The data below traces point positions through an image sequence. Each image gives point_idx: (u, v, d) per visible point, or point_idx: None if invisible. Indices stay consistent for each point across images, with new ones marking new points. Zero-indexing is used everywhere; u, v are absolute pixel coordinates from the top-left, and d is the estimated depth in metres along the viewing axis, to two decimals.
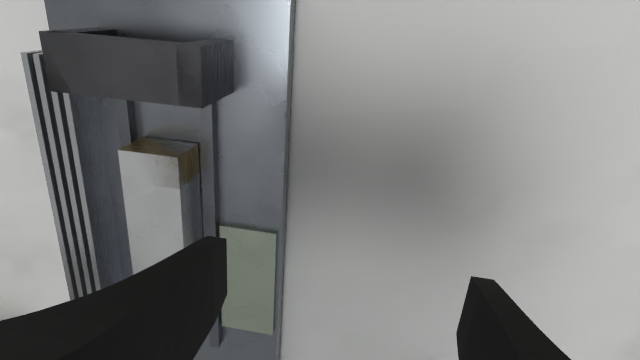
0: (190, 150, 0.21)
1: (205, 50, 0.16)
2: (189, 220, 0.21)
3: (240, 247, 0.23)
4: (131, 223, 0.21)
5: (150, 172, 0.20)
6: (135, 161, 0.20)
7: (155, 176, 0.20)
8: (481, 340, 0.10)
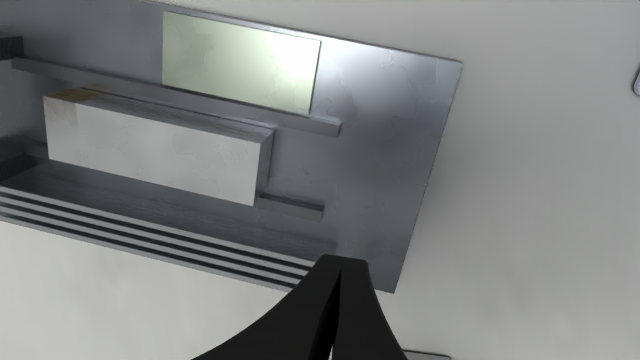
0: (65, 91, 0.20)
1: None
2: (131, 109, 0.19)
3: (187, 62, 0.19)
4: (126, 171, 0.19)
5: (64, 131, 0.19)
6: (56, 143, 0.19)
7: (67, 126, 0.19)
8: (337, 315, 0.10)
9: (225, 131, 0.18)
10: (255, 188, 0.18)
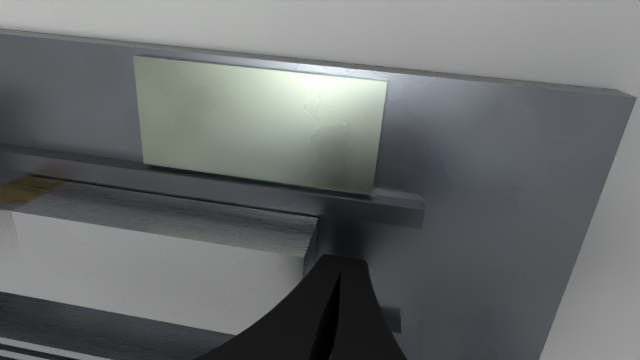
0: (3, 185, 0.13)
1: None
2: (98, 209, 0.12)
3: (177, 130, 0.12)
4: (100, 303, 0.13)
5: (2, 250, 0.12)
6: None
7: (4, 244, 0.12)
8: (336, 315, 0.10)
9: (243, 235, 0.12)
10: None
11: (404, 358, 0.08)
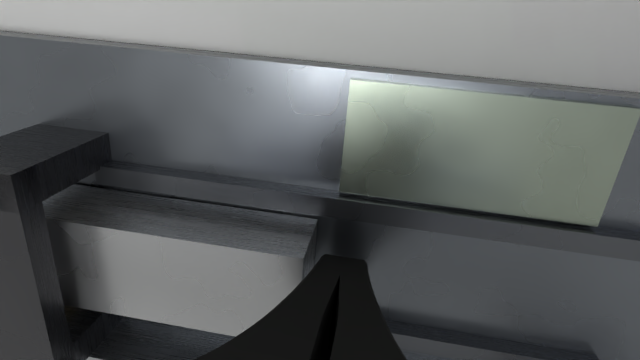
0: None
1: None
2: (97, 210, 0.12)
3: (385, 157, 0.11)
4: (99, 304, 0.13)
5: None
6: None
7: None
8: (335, 315, 0.10)
9: (243, 236, 0.11)
10: None
11: (403, 358, 0.08)
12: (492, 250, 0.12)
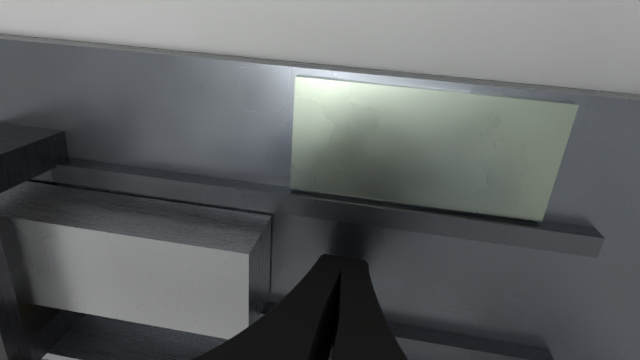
0: None
1: None
2: (51, 208, 0.12)
3: (333, 154, 0.12)
4: (54, 301, 0.13)
5: None
6: None
7: None
8: (337, 315, 0.10)
9: (193, 232, 0.12)
10: (249, 317, 0.12)
11: (405, 358, 0.08)
12: (443, 245, 0.12)
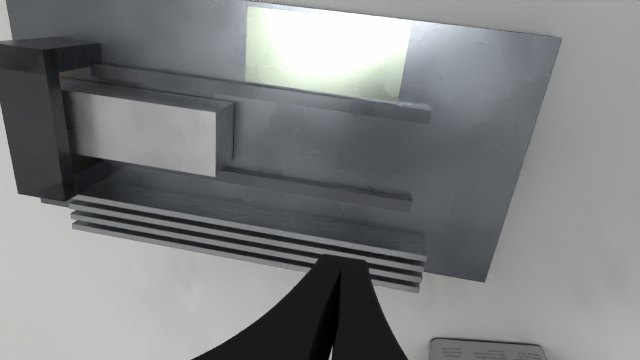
0: None
1: (2, 41, 0.17)
2: (91, 89, 0.19)
3: (271, 57, 0.19)
4: (91, 151, 0.20)
5: None
6: None
7: None
8: (337, 315, 0.10)
9: (182, 103, 0.19)
10: (216, 158, 0.19)
11: (405, 358, 0.08)
12: (341, 122, 0.19)
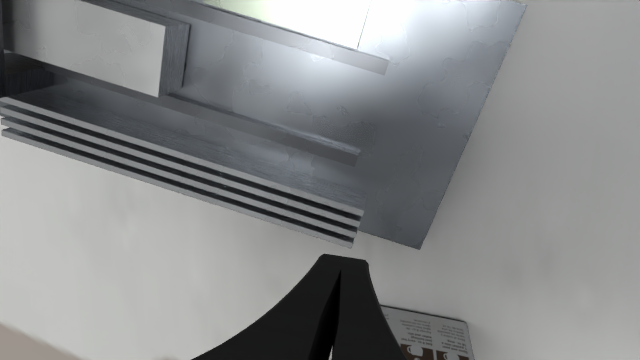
0: None
1: None
2: None
3: None
4: (28, 51, 0.18)
5: None
6: None
7: None
8: (337, 315, 0.10)
9: (132, 13, 0.18)
10: (160, 77, 0.18)
11: (405, 358, 0.08)
12: (298, 63, 0.19)
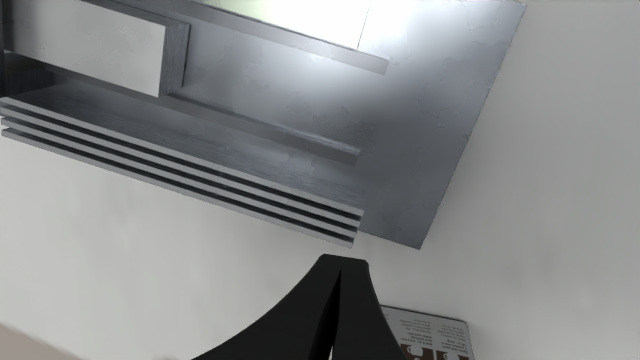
0: None
1: None
2: None
3: None
4: (28, 51, 0.18)
5: None
6: None
7: None
8: (337, 315, 0.10)
9: (132, 13, 0.18)
10: (160, 77, 0.18)
11: (405, 358, 0.08)
12: (298, 63, 0.19)
